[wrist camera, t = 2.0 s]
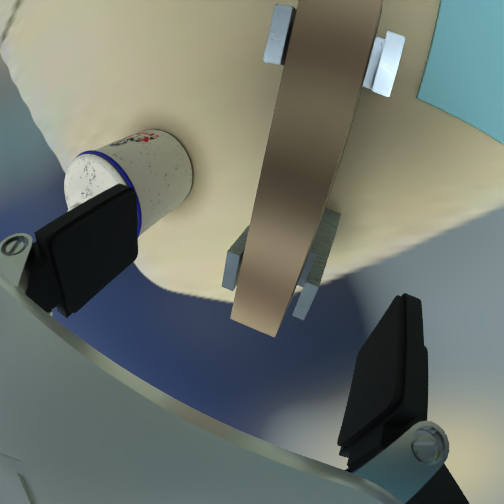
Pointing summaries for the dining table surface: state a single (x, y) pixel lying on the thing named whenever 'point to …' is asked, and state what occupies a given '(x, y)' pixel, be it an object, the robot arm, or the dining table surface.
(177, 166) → the teacup with lid
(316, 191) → the rail
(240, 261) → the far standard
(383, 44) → the near standard
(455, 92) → the mat
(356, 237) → the dining table surface
